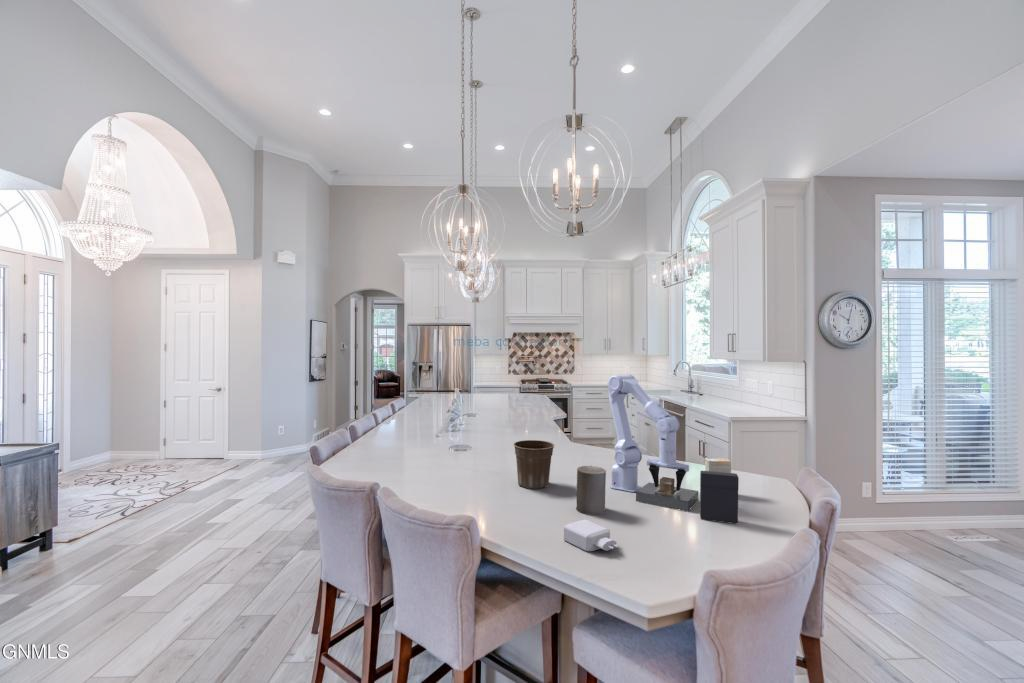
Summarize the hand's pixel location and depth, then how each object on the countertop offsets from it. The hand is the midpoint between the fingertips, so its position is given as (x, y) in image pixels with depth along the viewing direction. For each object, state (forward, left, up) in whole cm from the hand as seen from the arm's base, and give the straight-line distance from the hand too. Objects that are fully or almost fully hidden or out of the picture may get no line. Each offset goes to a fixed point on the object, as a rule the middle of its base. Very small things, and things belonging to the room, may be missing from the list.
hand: (667, 488), depth 171 cm
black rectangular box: (+19, -9, -5) cm, 22 cm away
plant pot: (-49, -12, -5) cm, 51 cm away
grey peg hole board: (0, 0, -4) cm, 4 cm away
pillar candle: (-18, -25, -5) cm, 31 cm away
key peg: (0, 0, -5) cm, 5 cm away
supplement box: (+13, +20, -5) cm, 24 cm away
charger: (-4, -51, -5) cm, 52 cm away
